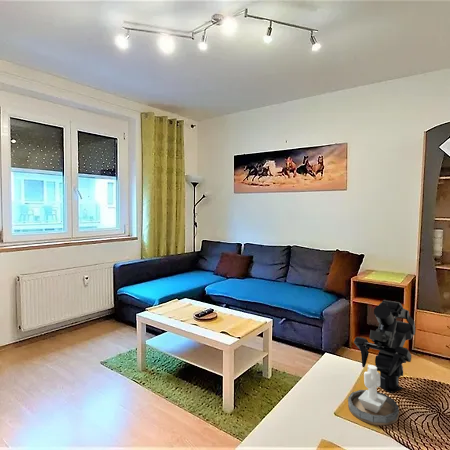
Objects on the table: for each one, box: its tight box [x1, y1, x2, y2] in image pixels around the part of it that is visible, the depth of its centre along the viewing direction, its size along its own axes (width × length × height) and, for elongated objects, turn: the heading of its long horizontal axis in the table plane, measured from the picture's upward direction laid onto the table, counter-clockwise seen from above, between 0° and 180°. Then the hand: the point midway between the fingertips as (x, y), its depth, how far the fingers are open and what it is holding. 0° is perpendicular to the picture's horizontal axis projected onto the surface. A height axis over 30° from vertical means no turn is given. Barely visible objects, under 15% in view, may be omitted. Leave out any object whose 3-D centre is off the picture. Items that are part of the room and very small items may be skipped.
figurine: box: [358, 364, 387, 413], centre depth 115 cm, size 7×9×15 cm
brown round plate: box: [348, 397, 400, 426], centre depth 115 cm, size 16×16×1 cm
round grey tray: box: [347, 389, 400, 423], centre depth 115 cm, size 16×16×2 cm
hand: (376, 370), depth 118 cm, fingers open, 9 cm apart
